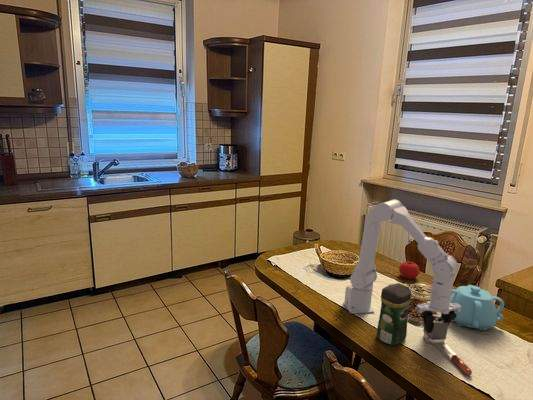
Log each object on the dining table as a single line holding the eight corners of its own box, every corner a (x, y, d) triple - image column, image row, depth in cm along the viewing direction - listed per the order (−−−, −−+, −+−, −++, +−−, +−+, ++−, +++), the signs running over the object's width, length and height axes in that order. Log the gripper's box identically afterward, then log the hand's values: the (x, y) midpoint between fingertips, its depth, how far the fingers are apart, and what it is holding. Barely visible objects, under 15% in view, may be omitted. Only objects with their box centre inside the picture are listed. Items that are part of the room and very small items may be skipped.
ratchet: (419, 334, 124) (421, 322, 123) (437, 333, 125) (438, 321, 124) (459, 377, 104) (462, 364, 103) (479, 376, 105) (482, 363, 104)
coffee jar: (388, 327, 128) (395, 278, 123) (409, 339, 121) (416, 287, 117) (371, 336, 122) (377, 285, 118) (392, 349, 116) (399, 295, 111)
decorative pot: (468, 307, 144) (474, 275, 141) (506, 330, 129) (513, 295, 126) (435, 313, 139) (440, 280, 136) (470, 337, 124) (477, 300, 121)
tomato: (394, 276, 169) (396, 260, 167) (404, 271, 175) (406, 256, 173) (412, 283, 163) (414, 266, 161) (421, 278, 168) (424, 262, 167)
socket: (431, 339, 119) (434, 323, 117) (423, 330, 123) (425, 314, 122) (445, 339, 119) (448, 322, 118) (436, 330, 124) (439, 314, 123)
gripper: (427, 300, 113) (421, 339, 116) (469, 298, 115) (463, 336, 118) (415, 289, 120) (409, 326, 123) (455, 288, 122) (449, 324, 125)
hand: (435, 330), depth 121 cm, fingers closed on socket, 5 cm apart
